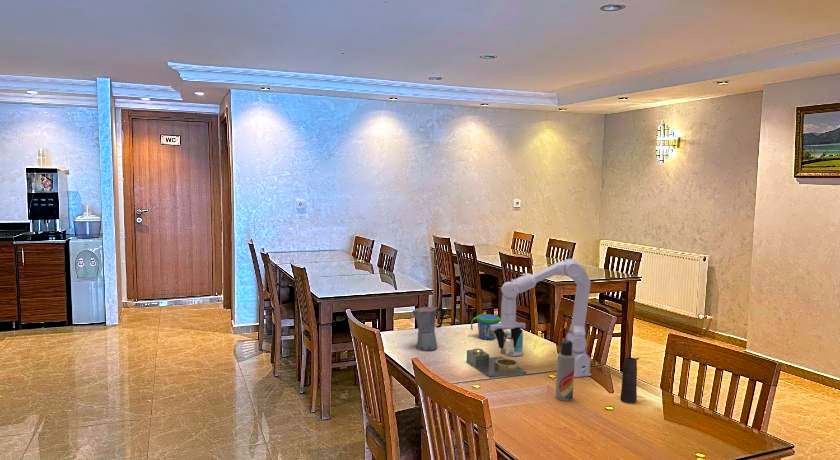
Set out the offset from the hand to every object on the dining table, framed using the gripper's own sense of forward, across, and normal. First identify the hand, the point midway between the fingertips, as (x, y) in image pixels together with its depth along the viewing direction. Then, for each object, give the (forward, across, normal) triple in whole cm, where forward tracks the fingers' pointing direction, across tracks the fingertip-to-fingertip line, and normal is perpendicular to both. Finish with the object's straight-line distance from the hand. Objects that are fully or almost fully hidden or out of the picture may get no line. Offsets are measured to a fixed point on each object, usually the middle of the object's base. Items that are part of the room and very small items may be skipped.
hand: (507, 347), depth 231 cm
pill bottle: (+9, -13, -17) cm, 23 cm away
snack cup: (+9, -14, -43) cm, 46 cm away
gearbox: (+9, +3, -3) cm, 10 cm away
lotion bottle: (+9, -4, +33) cm, 34 cm away
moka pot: (+9, +19, -35) cm, 41 cm away
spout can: (+2, 0, 0) cm, 2 cm away
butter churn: (+9, -25, +42) cm, 50 cm away
